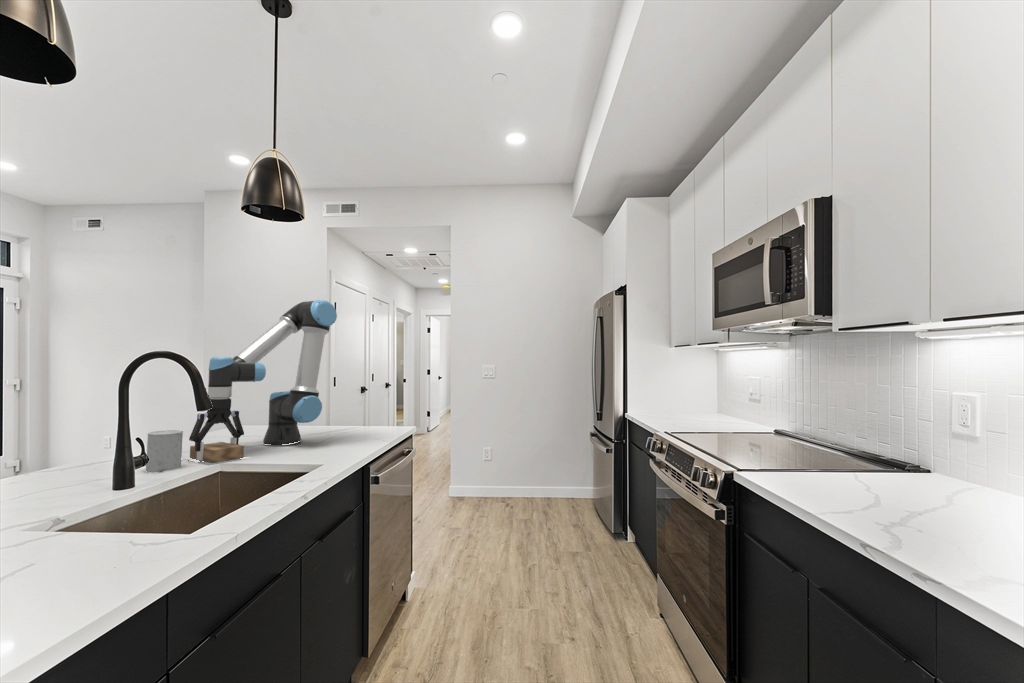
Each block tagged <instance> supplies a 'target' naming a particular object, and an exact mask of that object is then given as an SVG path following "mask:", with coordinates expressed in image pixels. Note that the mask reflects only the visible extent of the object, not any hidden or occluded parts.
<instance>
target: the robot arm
mask: <svg viewBox="0 0 1024 683" xmlns="http://www.w3.org/2000/svg"><path fill="white" fill-rule="evenodd" d="M337 316H338V314H337V310H336V308H335V306H334V305H333V304H332V303H331V302H330V301H328V300H325V299H324V300H323V299H317V300H311V301H301V302H299V303H297V304H295V305H294V306H292V307H291V308H290V309H288V310H287V311H285V313H284V314H283V315H281V316H280V317H279V320H278V321H277V322H276V323H275V324H273V325H272V326H271V327H269V329H267V330H266V331H265V332H263V334H262V335H261V334H260V336H259V337H258V338H256V339H255V340H254V341H253V342H252V343H250V344H249V345H248V346H246V347H245V348H243V350H241V351H240V352H239V353H237V355H235V356H233V357H231V356H229V357H228V356H213V357H211V358H210V359H209V364H208V365H209V366H208V384H207V385H208V387H207V396H208V395H209V397H210V398H209V397H208V398H209V399H210V400H211V402H212V405H213V408H212V409H210V410H206V413H197V414H196V415H197V416H196V421H195V423H194V426H193V429H192V430H191V433H190V435H189V437H188V440H189V441H191V442H194V446H195V451H197V460H199V461H203V449H204V444H205V443H204V442H205V441H204V442H203V440H204V438H205V437H206V435H207V434H208V432H209V431H210V430H211V428H212V427H213V426H214V425H215V424H217V425H218V424H223V425H225V427H226V429H227V430H228V431H229V433H230V434H231V437H230V444H236V445H239V440H240V438H241V436H245V431H244V428H243V425H242V422H241V420H240V419H241V418H240V411H238V410H231V407H232V398H231V397H232V392H233V391H232V390H233V388H232V387H233V383H238V382H241V383H244V382H245V383H246V382H247V383H249V382H253V383H255V382H261V381H263V380H264V379H265V377H266V375H267V374H266V373H267V369H266V366H265V365H264V363H262V362H260V361H261V360H262V359H263V358H264V357H266V356H267V355H268V354H269V353H271V352H272V350H275V348H277V347H278V346H279V345H280V344H281V343H282V342H284V341H285V340H286V339H287V338H288V337H289V336H291V335H292V334H297V333H298V332H299V331H300V330H302V332H303V337H302V342H301V349H300V354H299V358H298V360H299V361H298V365H297V371H296V376H295V383H294V386H293V387H292V388H291V389H290V390H288V391H285V390H284V391H278V392H277V391H275V392H271V394H270V395H269V399H268V403H269V404H268V405H269V406H268V428H267V429H266V431H265V435H264V437H263V440H262V442H263V443H264V444H271V445H282V444H289V443H294V442H298V441H300V440H301V441H302V437H301V434H300V430H299V427H298V426H299V425H298V423H300V424H301V423H302V424H305V423H311V422H313V421H315V420H317V419H318V418H319V416H320V415H321V414H322V410H323V403H322V401H321V399H320V398H319V396H320V392H319V390H318V389H317V384H318V378H319V372H320V367H321V360H322V355H323V349H324V343H325V337H326V335H327V334H329V333H330V328H331V326H332V325H334V324H335V322H336V321H337V318H338V317H337ZM230 417H231V418H232V421H231V419H230ZM206 419H207V420H206ZM205 420H206V421H205ZM204 422H205V423H204ZM232 422H233V423H232ZM203 425H204V426H203ZM263 443H262V444H263Z"/></svg>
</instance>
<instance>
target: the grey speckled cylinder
mask: <svg viewBox="0 0 1024 683" xmlns="http://www.w3.org/2000/svg"><path fill="white" fill-rule="evenodd" d="M183 433H184V430H177V429H176V430H175V429H174V430H173V429H172V430H170V429H169V430H167V429H166V430H157V431H155V430H154V431H151V432H150V431H149V432H147V441H146V443H147V447H146V457H147V456H148V458H149V461H148V463H147V464H146V463H145V470H146V471H147V472H146V471H145V472H146V473H149V472H159V473H164V472H166V471H172V470H176V469H180V468H181V467H182V460H181V458H182V457H183V456H182V452H183V436H184V435H183Z"/></svg>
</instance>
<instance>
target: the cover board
mask: <svg viewBox="0 0 1024 683" xmlns="http://www.w3.org/2000/svg"><path fill="white" fill-rule="evenodd" d="M189 447H190V448H189V457H190V458H192V459H196V460H197V451H195V445H190V446H189ZM244 454H245V445H241V444H238V445H236V444H230V443H229V442H224V441H223V442H222V441H219V442H218V441H217V442H211V443H204V449H203V461H204V462H209V463H216V462H222V461H228V460H234V459H240V458H243V456H245V455H244Z"/></svg>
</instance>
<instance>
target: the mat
mask: <svg viewBox="0 0 1024 683" xmlns="http://www.w3.org/2000/svg"><path fill="white" fill-rule="evenodd" d="M241 460H242V459H234V460H228V461H222V462H216V463H209V462H202V461H200V462H198V463H197V464H200V465H204V466H214V465H219V464H220V465H221V464H225V463H226V464H227V463H233V462H236V461H241Z"/></svg>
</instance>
